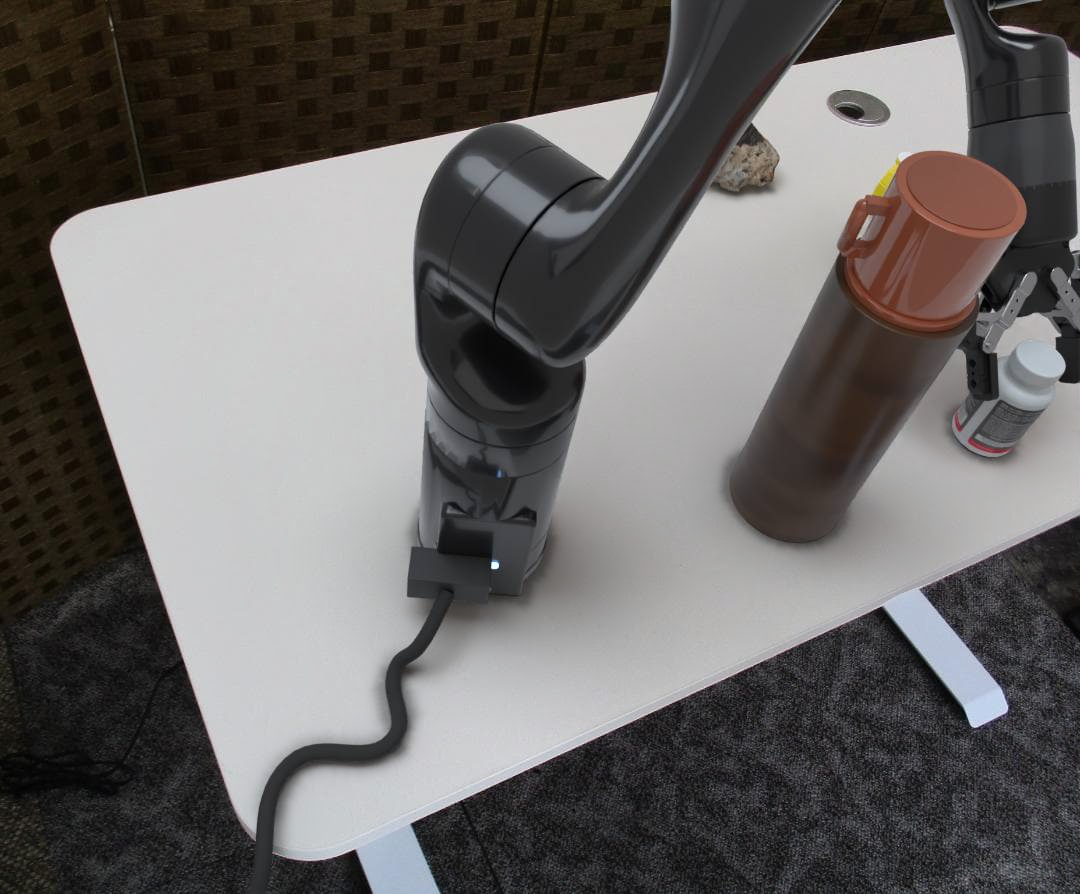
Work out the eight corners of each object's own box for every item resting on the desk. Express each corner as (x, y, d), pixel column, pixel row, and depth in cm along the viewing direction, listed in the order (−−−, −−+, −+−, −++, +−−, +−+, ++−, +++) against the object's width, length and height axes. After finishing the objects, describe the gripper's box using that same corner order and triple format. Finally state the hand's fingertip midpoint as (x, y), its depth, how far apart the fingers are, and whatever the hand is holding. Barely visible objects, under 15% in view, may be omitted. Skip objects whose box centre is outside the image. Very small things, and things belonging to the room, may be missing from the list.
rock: (752, 122, 106) (698, 74, 99) (804, 133, 101) (751, 83, 94) (713, 198, 107) (657, 155, 100) (762, 213, 102) (707, 169, 95)
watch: (877, 225, 100) (901, 177, 96) (857, 209, 102) (880, 161, 97) (914, 207, 103) (940, 160, 98) (895, 191, 104) (919, 144, 100)
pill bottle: (1024, 444, 85) (1088, 369, 77) (983, 468, 83) (1046, 394, 75) (977, 400, 88) (1035, 324, 80) (937, 423, 85) (993, 346, 78)
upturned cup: (986, 339, 58) (1051, 248, 53) (832, 321, 57) (881, 227, 52) (956, 247, 63) (1012, 154, 57) (813, 229, 62) (856, 134, 57)
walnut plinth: (848, 548, 76) (996, 346, 58) (734, 537, 76) (847, 329, 57) (831, 454, 82) (961, 242, 63) (725, 443, 81) (825, 225, 63)
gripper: (980, 187, 71) (991, 411, 74) (1134, 167, 75) (1139, 380, 78) (910, 198, 78) (923, 401, 81) (1055, 179, 82) (1062, 373, 85)
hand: (1029, 391), depth 79 cm, fingers open, 8 cm apart
